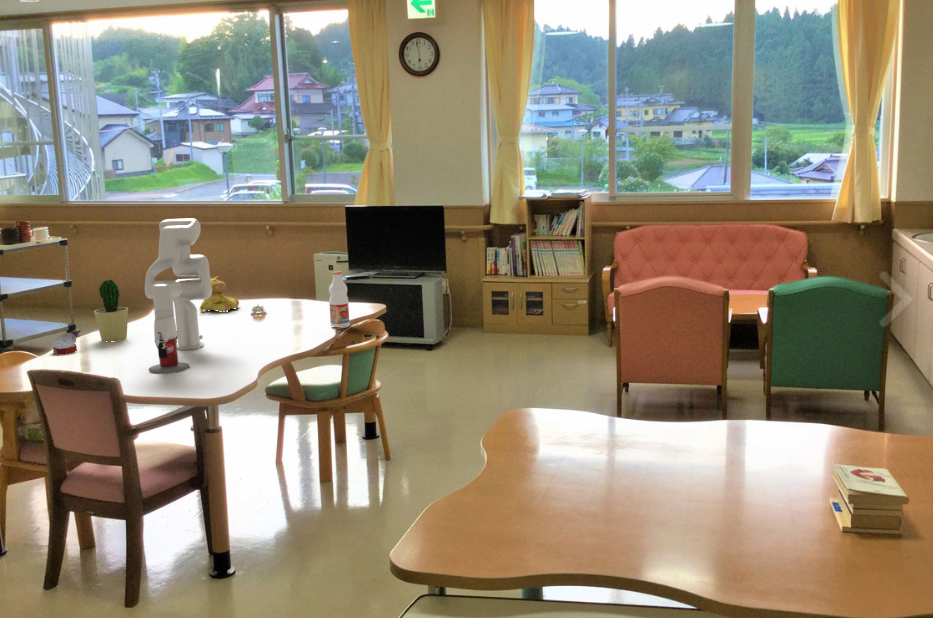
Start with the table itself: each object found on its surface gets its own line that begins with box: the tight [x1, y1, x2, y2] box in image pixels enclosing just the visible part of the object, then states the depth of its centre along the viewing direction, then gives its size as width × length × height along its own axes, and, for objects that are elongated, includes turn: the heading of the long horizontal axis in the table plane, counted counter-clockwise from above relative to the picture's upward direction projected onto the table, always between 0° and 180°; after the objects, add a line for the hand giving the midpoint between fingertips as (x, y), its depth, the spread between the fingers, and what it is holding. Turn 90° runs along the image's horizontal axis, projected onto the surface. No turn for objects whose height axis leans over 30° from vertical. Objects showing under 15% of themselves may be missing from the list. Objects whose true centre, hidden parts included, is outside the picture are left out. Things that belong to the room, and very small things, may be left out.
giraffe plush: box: [198, 275, 240, 313], centre depth 493 cm, size 20×24×19 cm
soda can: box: [158, 337, 179, 368], centre depth 358 cm, size 7×7×12 cm
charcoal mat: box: [148, 361, 190, 374], centre depth 359 cm, size 16×16×1 cm
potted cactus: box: [93, 279, 129, 343], centre depth 418 cm, size 15×15×30 cm
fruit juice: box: [328, 270, 351, 329], centre depth 433 cm, size 9×9×28 cm
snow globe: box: [52, 332, 78, 355], centre depth 396 cm, size 11×10×10 cm
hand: (168, 355), depth 358 cm, fingers open, 8 cm apart
